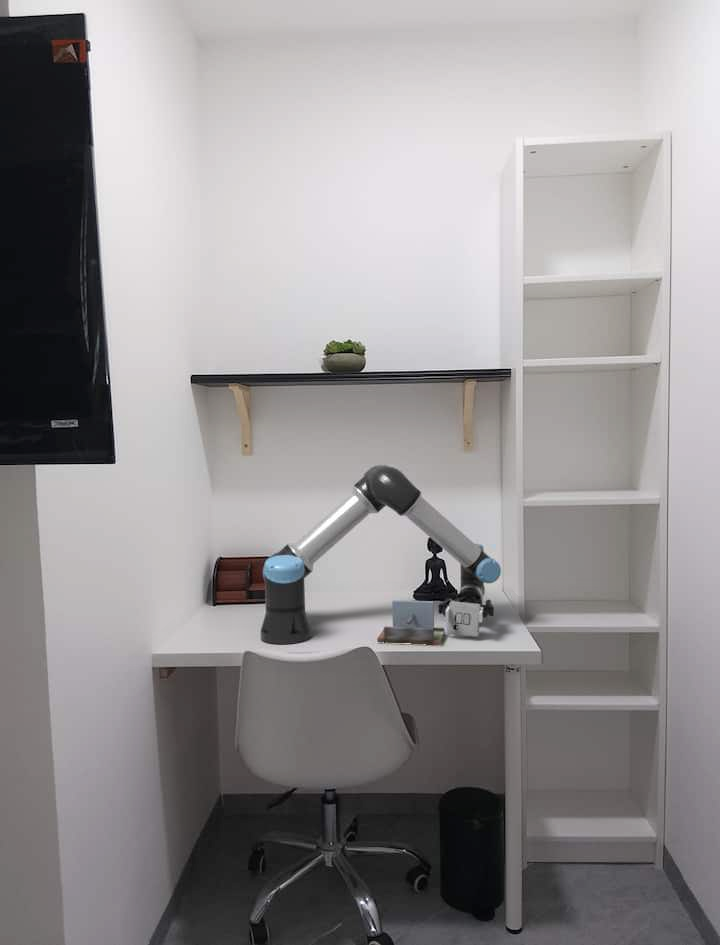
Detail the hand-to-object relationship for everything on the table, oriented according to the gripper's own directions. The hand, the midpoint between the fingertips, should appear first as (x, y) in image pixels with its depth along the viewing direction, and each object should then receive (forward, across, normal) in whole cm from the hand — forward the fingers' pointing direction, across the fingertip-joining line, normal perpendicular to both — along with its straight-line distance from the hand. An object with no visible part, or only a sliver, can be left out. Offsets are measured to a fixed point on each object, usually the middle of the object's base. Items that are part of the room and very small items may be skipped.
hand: (463, 616), depth 204 cm
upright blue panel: (0, +14, -5) cm, 15 cm away
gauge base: (0, +15, -7) cm, 17 cm away
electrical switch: (-4, 0, -6) cm, 8 cm away
